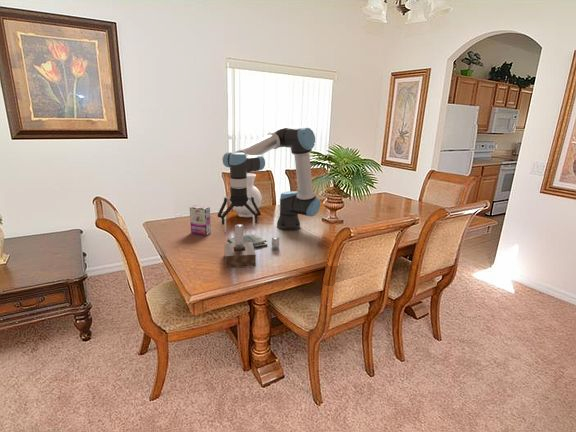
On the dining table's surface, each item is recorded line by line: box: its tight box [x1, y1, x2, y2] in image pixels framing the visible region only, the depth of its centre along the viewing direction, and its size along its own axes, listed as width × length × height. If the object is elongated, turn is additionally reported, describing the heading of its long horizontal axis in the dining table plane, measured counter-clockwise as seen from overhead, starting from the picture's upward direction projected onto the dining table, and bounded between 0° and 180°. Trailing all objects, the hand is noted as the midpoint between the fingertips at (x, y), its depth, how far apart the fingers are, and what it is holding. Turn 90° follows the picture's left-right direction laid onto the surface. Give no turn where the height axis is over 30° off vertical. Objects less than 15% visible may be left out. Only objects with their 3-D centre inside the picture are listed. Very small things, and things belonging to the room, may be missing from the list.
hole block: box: [224, 242, 257, 269], centre depth 164 cm, size 14×16×6 cm
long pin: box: [234, 223, 245, 251], centre depth 162 cm, size 4×4×18 cm
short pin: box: [271, 236, 280, 251], centre depth 179 cm, size 4×4×6 cm
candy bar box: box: [189, 205, 212, 237], centre depth 197 cm, size 11×5×16 cm, turn 70°
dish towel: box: [227, 233, 268, 250], centre depth 186 cm, size 19×18×3 cm
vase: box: [229, 172, 263, 218], centre depth 232 cm, size 19×21×30 cm
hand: (239, 230), depth 160 cm, fingers open, 13 cm apart
